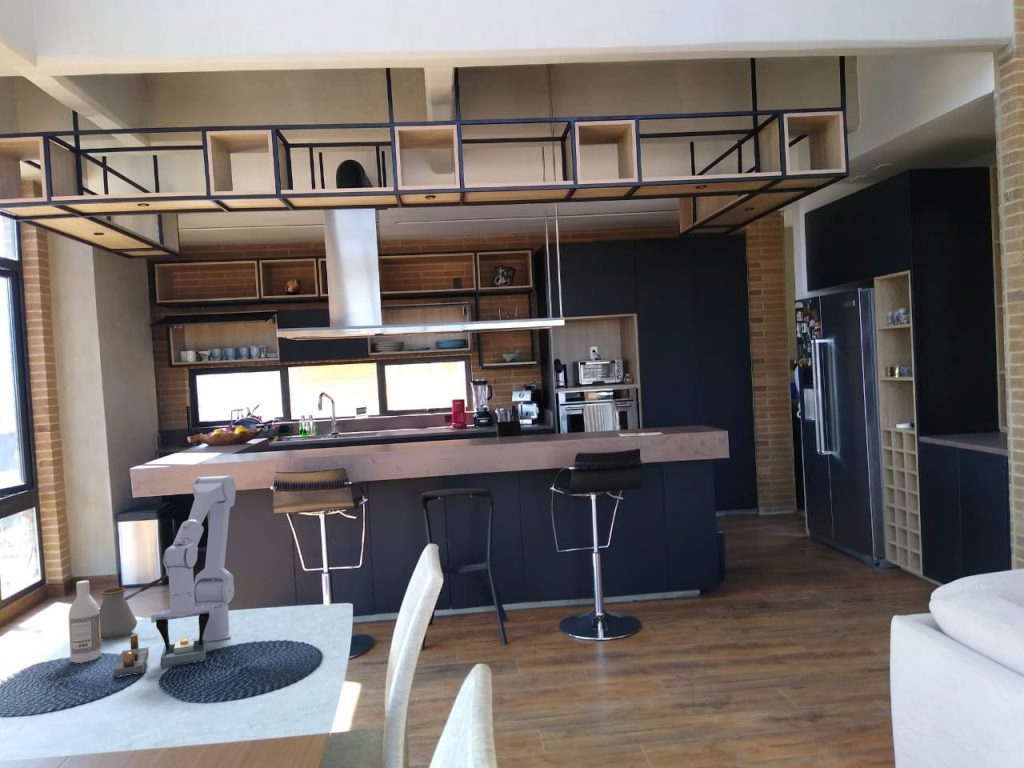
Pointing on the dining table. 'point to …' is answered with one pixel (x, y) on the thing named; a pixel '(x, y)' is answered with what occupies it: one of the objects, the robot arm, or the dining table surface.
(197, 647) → the tray
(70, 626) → the bath foam
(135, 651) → the hand plane
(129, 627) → the coffee pot
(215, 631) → the robot arm
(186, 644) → the white yellow block
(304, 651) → the dining table surface
